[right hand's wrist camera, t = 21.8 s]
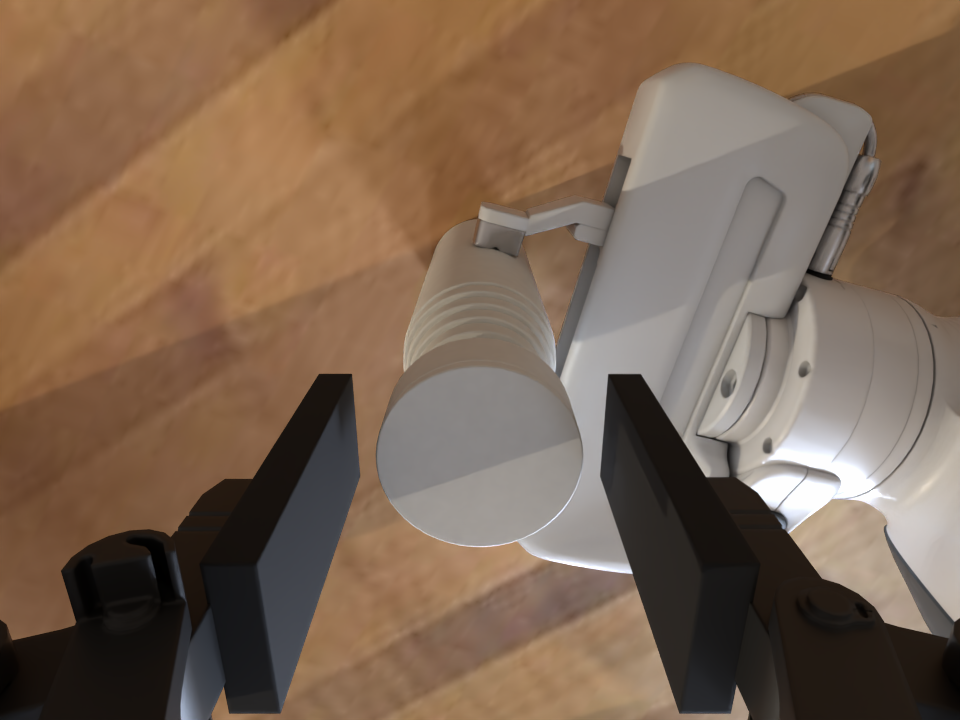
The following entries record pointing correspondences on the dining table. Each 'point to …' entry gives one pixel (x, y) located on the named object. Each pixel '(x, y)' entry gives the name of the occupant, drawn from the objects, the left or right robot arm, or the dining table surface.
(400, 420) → the cap
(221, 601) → the right robot arm
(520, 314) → the bottle
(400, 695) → the dining table surface
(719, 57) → the dining table surface
